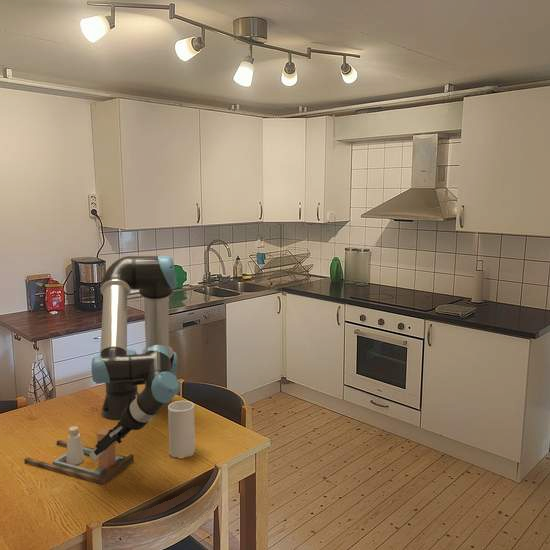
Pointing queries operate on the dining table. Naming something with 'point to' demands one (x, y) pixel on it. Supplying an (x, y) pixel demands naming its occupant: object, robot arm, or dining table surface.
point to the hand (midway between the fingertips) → (97, 454)
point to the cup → (181, 428)
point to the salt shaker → (74, 447)
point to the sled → (104, 460)
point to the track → (100, 480)
